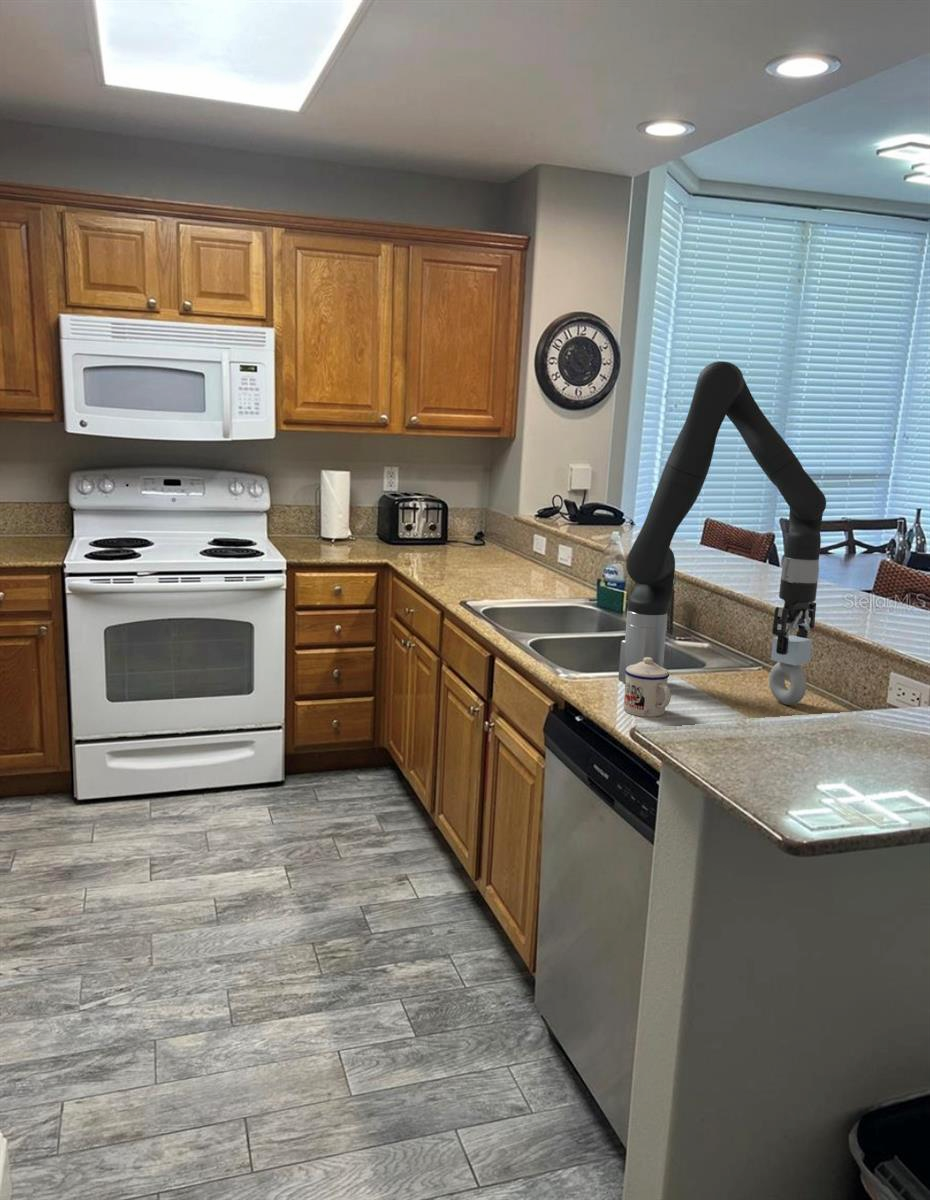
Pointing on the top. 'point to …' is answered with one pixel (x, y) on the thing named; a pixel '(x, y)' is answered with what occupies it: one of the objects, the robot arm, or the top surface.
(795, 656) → the gray block
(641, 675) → the teacup with lid
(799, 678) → the donut
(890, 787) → the top surface
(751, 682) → the top surface
